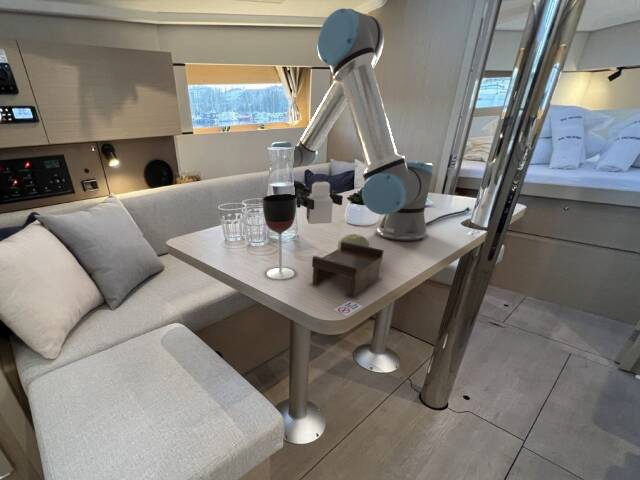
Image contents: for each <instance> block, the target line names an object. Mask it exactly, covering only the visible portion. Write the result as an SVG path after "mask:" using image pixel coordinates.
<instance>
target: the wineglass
mask: <svg viewBox="0 0 640 480" xmlns="http://www.w3.org/2000/svg"><path fill="white" fill-rule="evenodd" d="M261 199H262V202H261V203H262V211H263V216H264V220H265V225H266V226H267V228H268V229H270V230H271V231H273V232H275V233H277V234H278V267H275V268H271V269H269V270H268V271H267V272H266V276H267V277H268V278H270V279H273V280H286V279H290V278H292V277H294V275H295V271H294V270H293V269H290V268H288V267H283V253H282V252H283V251H282V250H283V249H282V248H283V245H282V240H283V239H282V237H283V235H282V234H283V233H284V232H286V231H287V230H289V229H290V228H291V227H292V226H293V224H294V222H295V218H296V213H297V204H296V203H297V196H295V195H291V194H276V195H272V194H270V195H266V196H264V197H262V198H261Z"/></svg>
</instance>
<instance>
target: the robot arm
mask: <svg viewBox="0 0 640 480" xmlns="http://www.w3.org/2000/svg"><path fill="white" fill-rule="evenodd" d="M383 28H384V27H383V26H382V24H381V22H380V21H379V20H378V18H376V17H374V16H372V15H367V14H365V13H362V12H359V11H356V10H355V9H353V8H338V9H336V10H334V11H333V12H331V13H330V14H329V15H328V16H327V17H326V19H325V21H324V22H323V23H322V26H321V27H320V31H319V34H318V37H317V45H316V46H317V54H318V57H319V59H320V60H321V62H322V63H323V64H325V65H326V66H329V67H330V71H331V74H332V77H333V83H332V84H331V85H330V87H329V89H328V91H327V93H326V94H325V96H324V97H323V100H322V102H321V103H320V105H319V107H318V108H317V110H316V112H315V114H314V116H313V117H312V119H311V121H310V122H309V125H307V128H306V129H305V131H304V133H303V135H302V137H301V138H300V140H299V142H298V143H297V145H294V146H292V142H291V141H278V142H276V141H275V142H273V143H272V144H271V145H270V148H271V147H295V150H294V164H293V168H292V169H296V168H301V167H308V166H310V165H312V164H314V163H315V162H316V161H317V159H318V149H320V147H321V145H322V144H323V142H324V140H325V139H326V137H327V135H328V134H329V133H330V131H331V129H332V128H333V126H334V125H335V123H336V122H337V120H338V118H340V115H341V114H342V113H343V111H344V109H345V108H346V107H348V110H349V112H350V118H351V121H352V124H353V127H354V131H355V134H356V137H357V140H358V143H359V148H360V151H361V154H362V157H363V160H364V164H365V169H364V171H363V173H362V177H363V181H364V184H363V188H362V191H361V197H362V201H363V204H364V205H365V207H366V208H367V209H368V210H369V211H370V212H372V213H374V214H376V215H381V216H382V215H383V216H382V218H381V220H380V222H379V224H378V227H377V231H376V232H377V235H378V236H380V237H381V238H384V239H387V240H390V241H391V240H393V241H400V242H414V241H419V240H420V241H421V240H422V239H424V238H425V237H426V234H427V225H429V224H432V223H434V222H436V221H438V220H440V219H442V218H446V217H450V216H453V215H459V214H463V213H465V212H467V211H470V207H468V206H466V208H465V209H464V210H459V211H455V212H449V213H446V214H443V215H440V216H437V217H435V218H434V219H432V220H430V221H427V222H426V217H425V209H426V204H427V201H428V195H429V191H430V188H431V187H430V186H431V183H432V179H433V176H434V173H433V171H434V165H433V164H432V163H430V162H412V161H406V158H405V156H404V155H401V154H398V153H397V149H396V146H395V143H394V138H393V136H392V132H391V128H390V125H389V120H388V117H387V114H386V110H385V106H384V103H383V99H382V95H381V92H380V88H379V85H378V81H377V77H376V73H375V71H374V68H375V67H376V65H377V63H378V61H379V59H380V57H381V54H382V51H383V48H384V43H385V33H384V29H383ZM293 180H294V187H295V196H297V203H296V209H300V208H301V207H304V208H306V209H307V208H309V209H311V210H313V209H314V200H313V199H310V198H307V197H308V196H310V187H307V186H306V184H305V183H304V182H303V181H299V180H296V179H293ZM329 196H330V198H331V199H332V200H333V205H338V206H342V205H343V197H344V196H343V195H341V194H338V193H337V191H336V190H334V189H330V195H329Z"/></svg>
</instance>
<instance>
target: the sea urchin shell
mask: <svg viewBox="0 0 640 480" xmlns="http://www.w3.org/2000/svg"><path fill="white" fill-rule="evenodd" d="M341 242H348V243H353V244H357V245H362V246H367V247H370V243H369V241H368V239H367V238H366V237H364V236H363V235H361V234H355V233H349V234H346V235H344V236H342V237H341V238H340V240H339V241H338V242H337V249H339V248H341Z"/></svg>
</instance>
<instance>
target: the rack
mask: <svg viewBox="0 0 640 480" xmlns="http://www.w3.org/2000/svg"><path fill="white" fill-rule="evenodd" d="M384 252H385V251H384V249H380V248H376V247H370V246H369V247H367V246H362V245H357V244H353V243H348V242H341V248H339V249H338V248H337V249H336V250H334V251H332V252H330V253H328V254H326V255H325V256H323V257H320V256H317V255H314V256H313V257H312V259H311V260H312V262H311V263H312V264H311V267H312V285H313V286H318V285H321V284H322V283H323V282H325V281H326V280H328V279H330V278H331V277H333V276H334V275H339V276H343V277H347V278H348V279H349V278H350V279H349V282H350V283H349V288H348V289H349V290H348V297H349V298H351V299H354V298H355V297H356V296H358V295H359V294H360V293H362V292H363V291H364V290H365V289H367V288H368V287H370V286H371V285H372V284H374V283H375V282H376V281H377V280H379V278H380V271H381V265H382V260H383V258H384Z"/></svg>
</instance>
